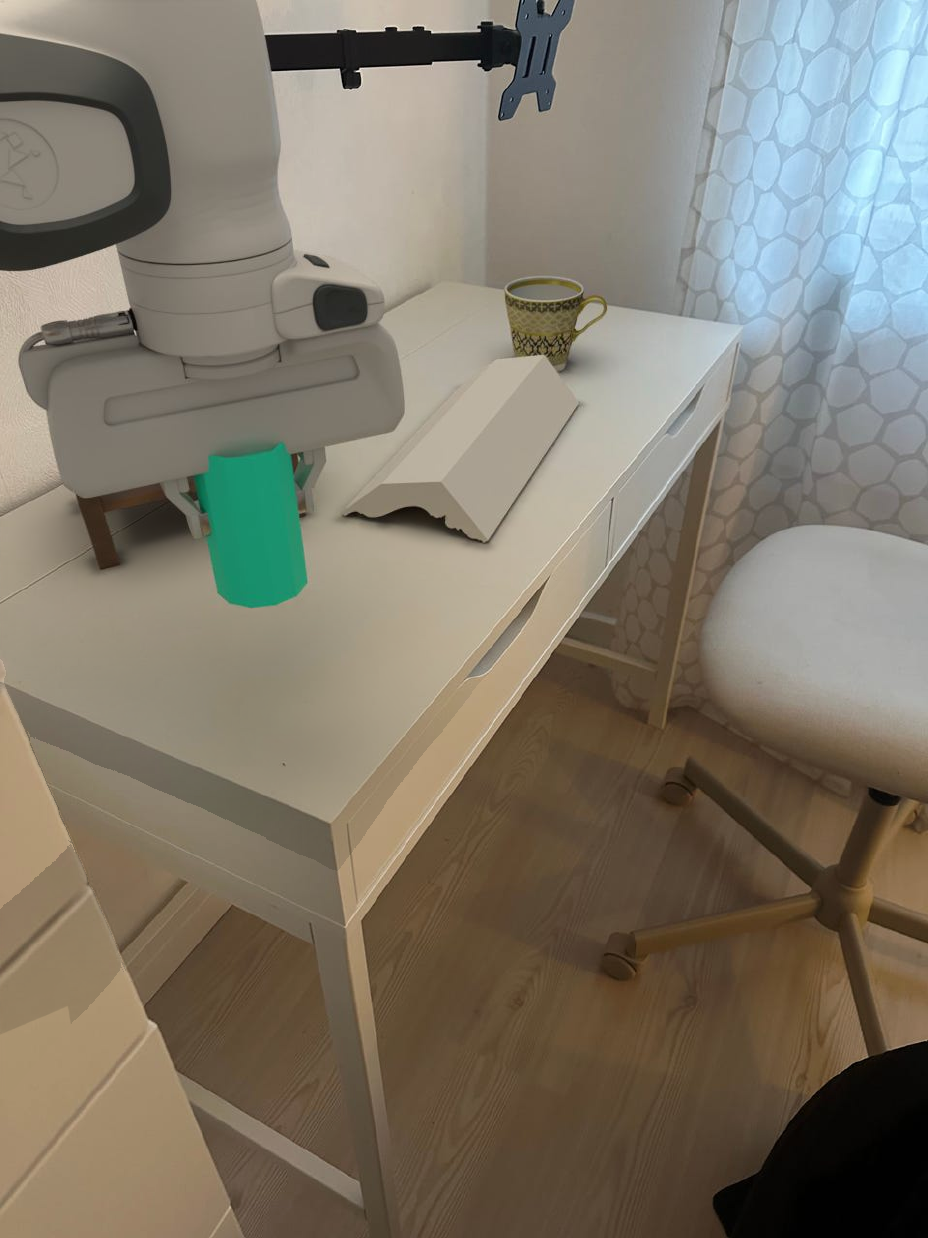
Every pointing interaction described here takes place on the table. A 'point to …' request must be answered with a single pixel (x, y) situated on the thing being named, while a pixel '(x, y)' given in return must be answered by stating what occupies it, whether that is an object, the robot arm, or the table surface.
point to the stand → (99, 505)
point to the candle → (253, 527)
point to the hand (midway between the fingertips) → (253, 520)
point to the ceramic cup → (546, 316)
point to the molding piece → (476, 448)
